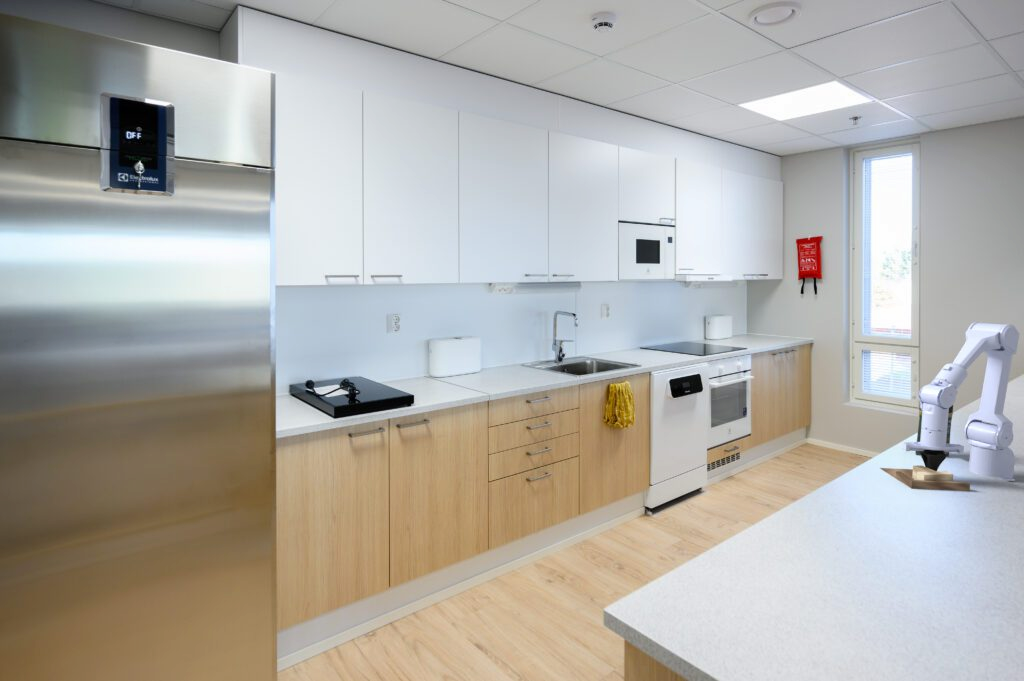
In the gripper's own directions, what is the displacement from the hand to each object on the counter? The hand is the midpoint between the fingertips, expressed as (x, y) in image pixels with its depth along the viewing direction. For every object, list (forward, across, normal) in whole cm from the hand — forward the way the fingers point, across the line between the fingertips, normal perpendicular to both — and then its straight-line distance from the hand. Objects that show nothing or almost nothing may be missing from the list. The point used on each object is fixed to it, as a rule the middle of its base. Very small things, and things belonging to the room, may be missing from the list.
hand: (930, 476), depth 158 cm
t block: (+1, +2, +2) cm, 3 cm away
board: (+2, +2, 0) cm, 3 cm away
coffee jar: (+2, -15, -27) cm, 31 cm away
